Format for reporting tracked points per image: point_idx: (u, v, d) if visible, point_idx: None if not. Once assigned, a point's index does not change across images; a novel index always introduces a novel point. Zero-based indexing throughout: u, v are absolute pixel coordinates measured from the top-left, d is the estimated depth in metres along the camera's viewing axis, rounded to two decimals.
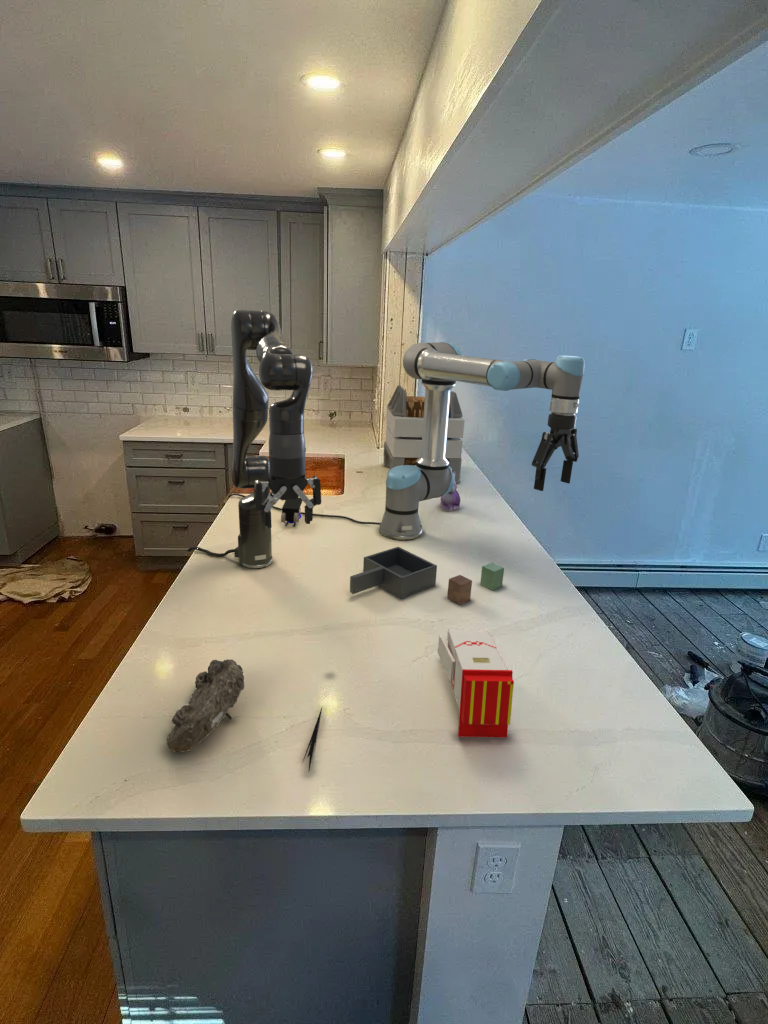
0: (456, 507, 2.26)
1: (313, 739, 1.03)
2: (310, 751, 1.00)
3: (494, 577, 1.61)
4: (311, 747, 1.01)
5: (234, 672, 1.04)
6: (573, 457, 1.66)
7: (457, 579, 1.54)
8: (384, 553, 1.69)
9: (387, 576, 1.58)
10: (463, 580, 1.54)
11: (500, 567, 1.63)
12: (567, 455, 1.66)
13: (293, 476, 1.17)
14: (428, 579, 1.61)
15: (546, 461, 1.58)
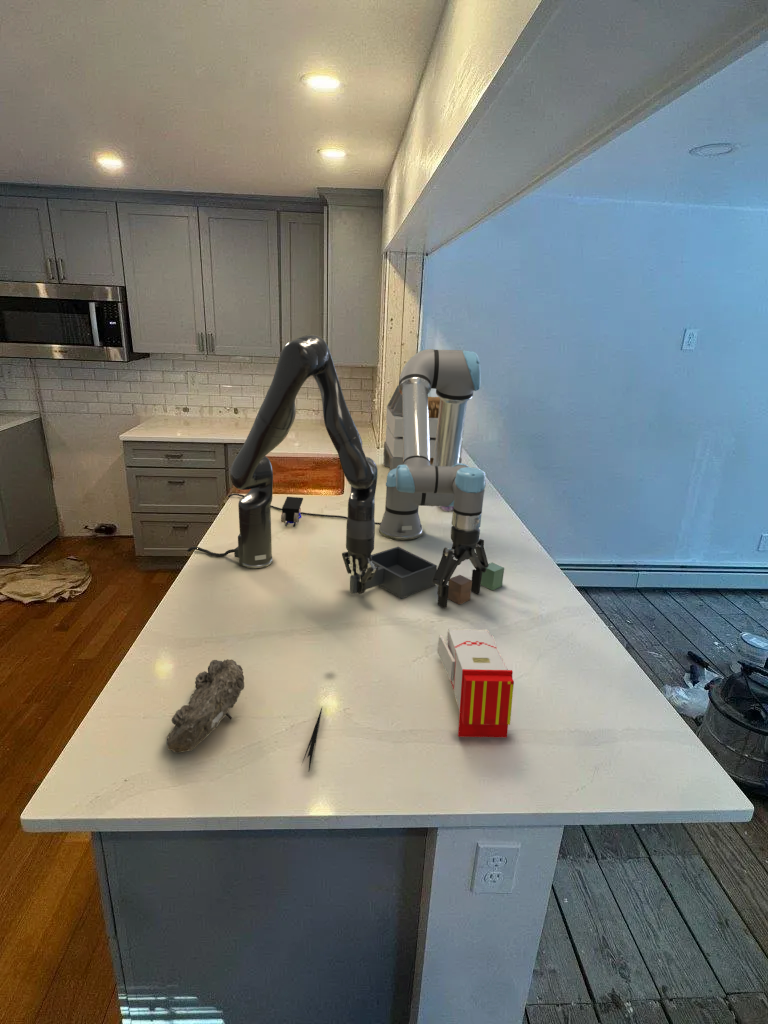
0: None
1: (313, 739, 1.03)
2: (310, 751, 1.00)
3: (494, 577, 1.61)
4: (311, 747, 1.01)
5: (234, 672, 1.04)
6: (481, 568, 1.57)
7: (457, 579, 1.54)
8: (384, 553, 1.69)
9: (386, 576, 1.58)
10: (463, 580, 1.54)
11: (500, 567, 1.63)
12: (475, 565, 1.57)
13: None
14: (428, 578, 1.61)
15: (448, 578, 1.49)
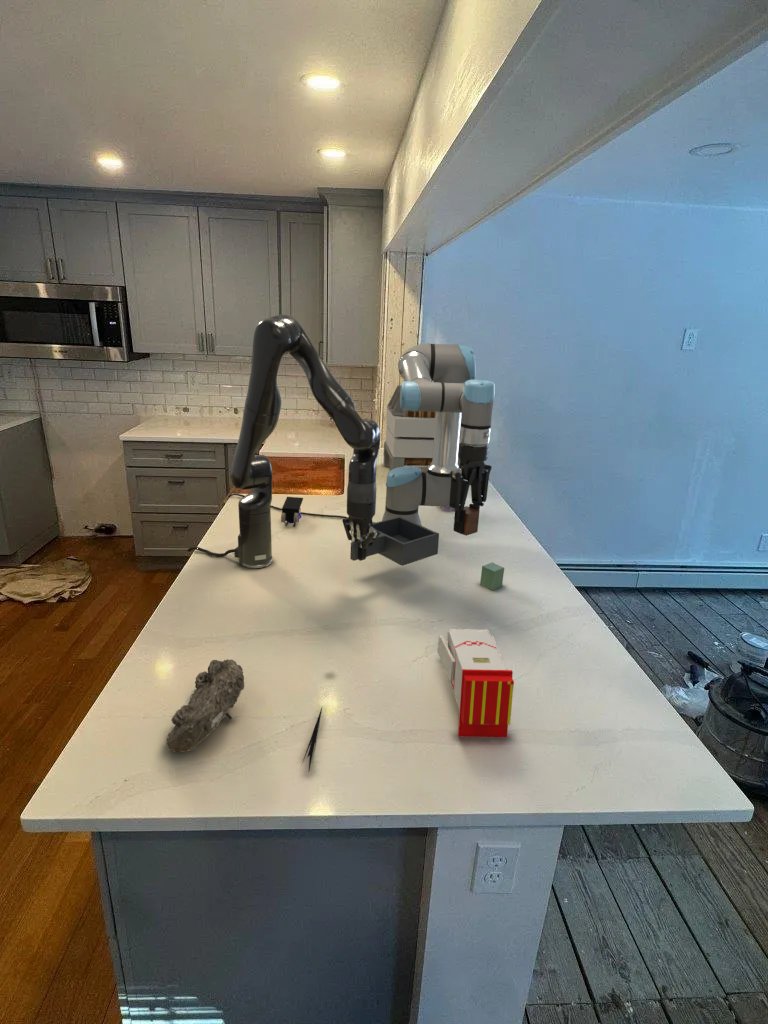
0: None
1: (313, 739, 1.03)
2: (310, 751, 1.00)
3: (494, 577, 1.61)
4: (311, 747, 1.01)
5: (234, 672, 1.04)
6: (480, 500, 1.48)
7: (464, 509, 1.48)
8: (385, 522, 1.66)
9: (388, 543, 1.55)
10: (470, 510, 1.47)
11: (500, 567, 1.63)
12: (474, 496, 1.48)
13: None
14: (431, 547, 1.58)
15: (463, 501, 1.44)
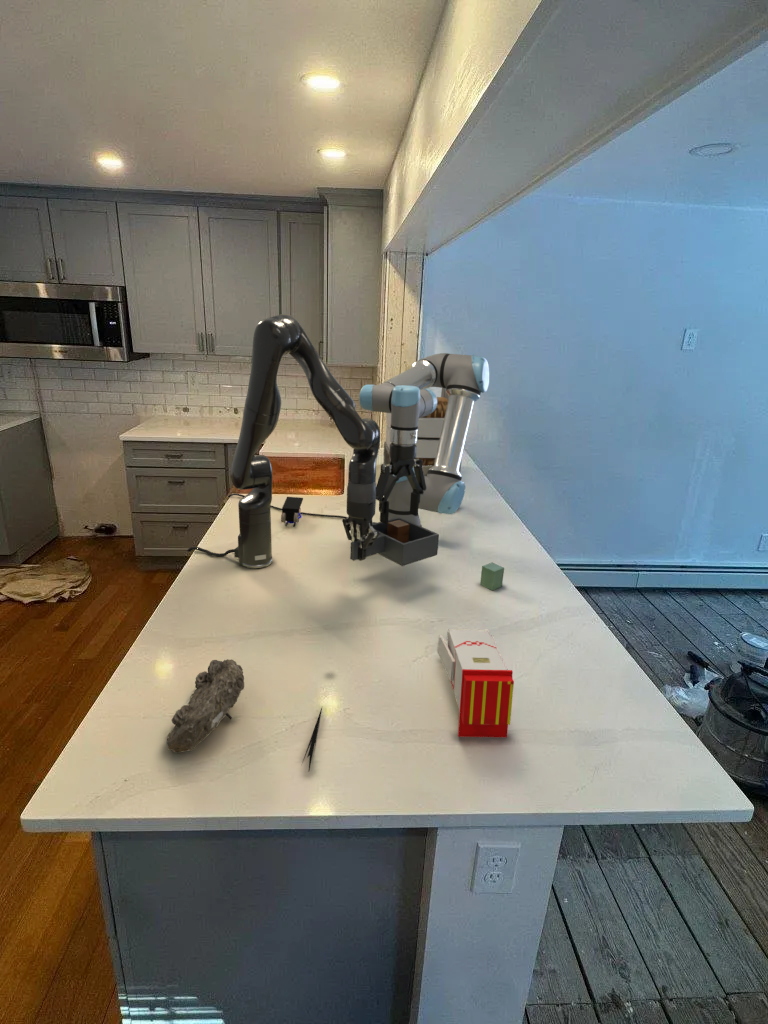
0: None
1: (313, 739, 1.03)
2: (310, 751, 1.00)
3: (494, 577, 1.61)
4: (311, 747, 1.01)
5: (234, 672, 1.04)
6: (419, 489, 1.63)
7: (396, 523, 1.64)
8: None
9: (388, 543, 1.55)
10: (401, 524, 1.63)
11: (500, 567, 1.63)
12: (413, 487, 1.63)
13: None
14: (430, 547, 1.58)
15: (388, 494, 1.56)
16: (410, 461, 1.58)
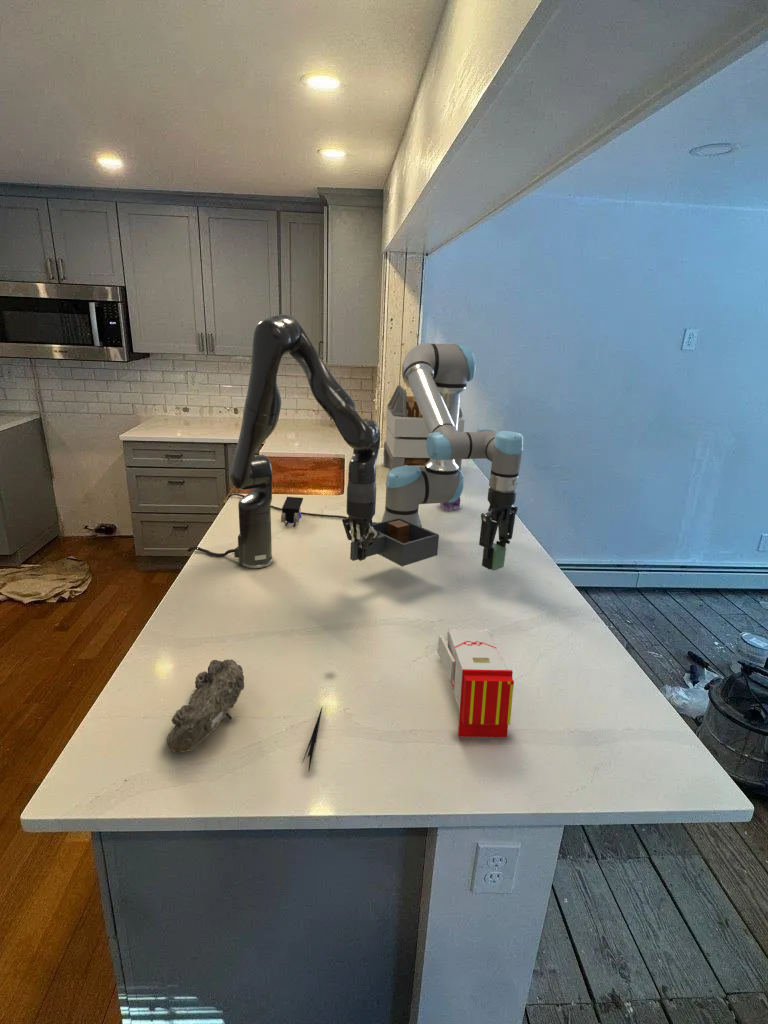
0: (456, 507, 2.26)
1: (313, 739, 1.03)
2: (310, 751, 1.00)
3: (496, 558, 1.59)
4: (311, 747, 1.01)
5: (234, 672, 1.04)
6: (506, 538, 1.62)
7: (396, 523, 1.64)
8: (385, 523, 1.66)
9: (388, 544, 1.55)
10: (401, 524, 1.63)
11: (502, 547, 1.61)
12: (501, 534, 1.62)
13: None
14: (430, 548, 1.58)
15: (492, 541, 1.58)
16: (508, 505, 1.58)
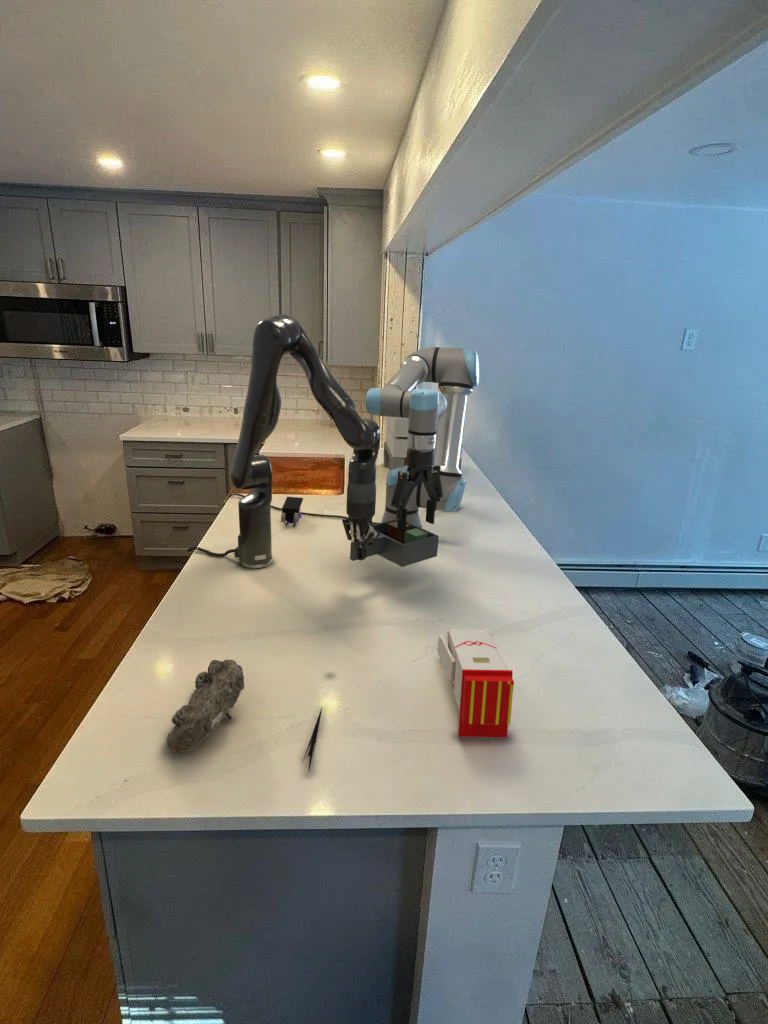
0: None
1: (313, 739, 1.03)
2: (310, 751, 1.00)
3: None
4: (311, 747, 1.01)
5: (234, 672, 1.04)
6: (436, 497, 1.58)
7: (396, 524, 1.64)
8: (385, 524, 1.66)
9: (387, 544, 1.55)
10: None
11: (423, 532, 1.59)
12: (430, 494, 1.58)
13: None
14: (430, 549, 1.58)
15: (406, 501, 1.51)
16: (428, 467, 1.53)
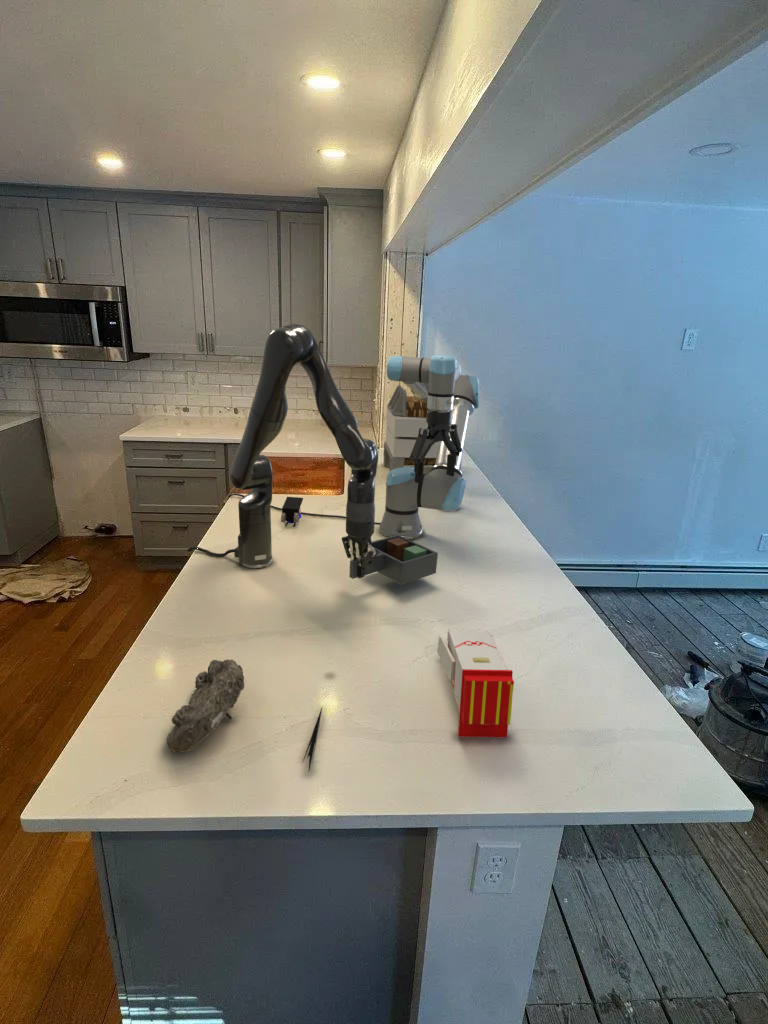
0: None
1: (313, 739, 1.03)
2: (310, 751, 1.00)
3: None
4: (311, 747, 1.01)
5: (234, 672, 1.04)
6: (455, 451, 1.74)
7: (395, 541, 1.65)
8: (384, 540, 1.67)
9: (387, 562, 1.56)
10: (400, 542, 1.65)
11: (422, 549, 1.60)
12: (450, 449, 1.74)
13: None
14: (429, 566, 1.59)
15: (423, 456, 1.66)
16: (446, 427, 1.68)
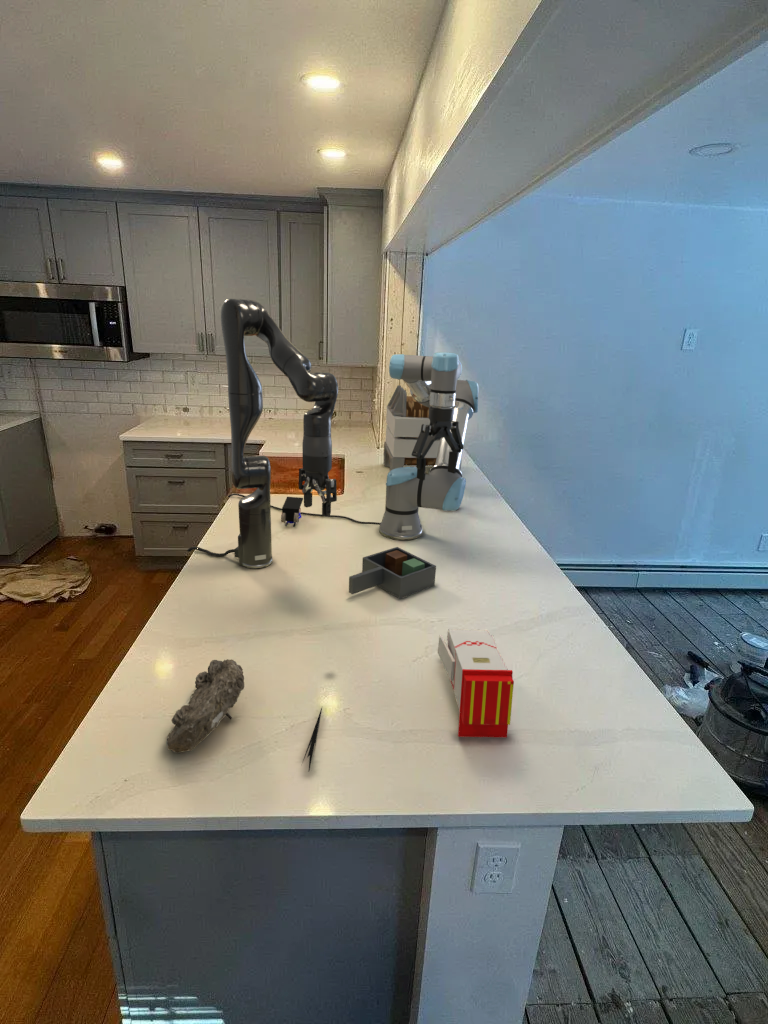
0: None
1: (313, 739, 1.03)
2: (310, 751, 1.00)
3: None
4: (311, 747, 1.01)
5: (234, 672, 1.04)
6: (457, 448, 1.76)
7: (393, 554, 1.67)
8: (383, 553, 1.69)
9: (385, 576, 1.58)
10: (398, 555, 1.66)
11: (420, 563, 1.62)
12: (451, 446, 1.76)
13: None
14: (427, 579, 1.61)
15: (425, 452, 1.67)
16: (447, 423, 1.70)
